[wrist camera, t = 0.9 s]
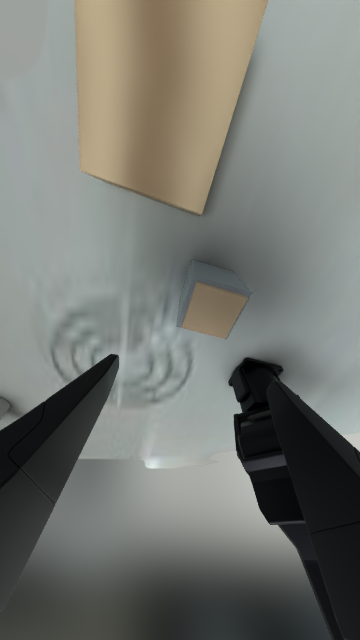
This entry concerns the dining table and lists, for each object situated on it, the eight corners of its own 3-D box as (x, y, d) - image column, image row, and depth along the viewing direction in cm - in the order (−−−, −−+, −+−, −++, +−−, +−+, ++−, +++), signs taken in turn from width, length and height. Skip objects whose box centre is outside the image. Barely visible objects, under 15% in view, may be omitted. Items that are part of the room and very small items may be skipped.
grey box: (234, 272, 18) (255, 295, 12) (216, 309, 20) (227, 343, 15) (191, 259, 17) (193, 277, 12) (179, 299, 20) (176, 330, 14)
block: (244, 64, 11) (270, -7, 7) (198, 215, 16) (201, 214, 12) (111, -1, 10) (71, -118, 6) (105, 182, 14) (79, 170, 11)
